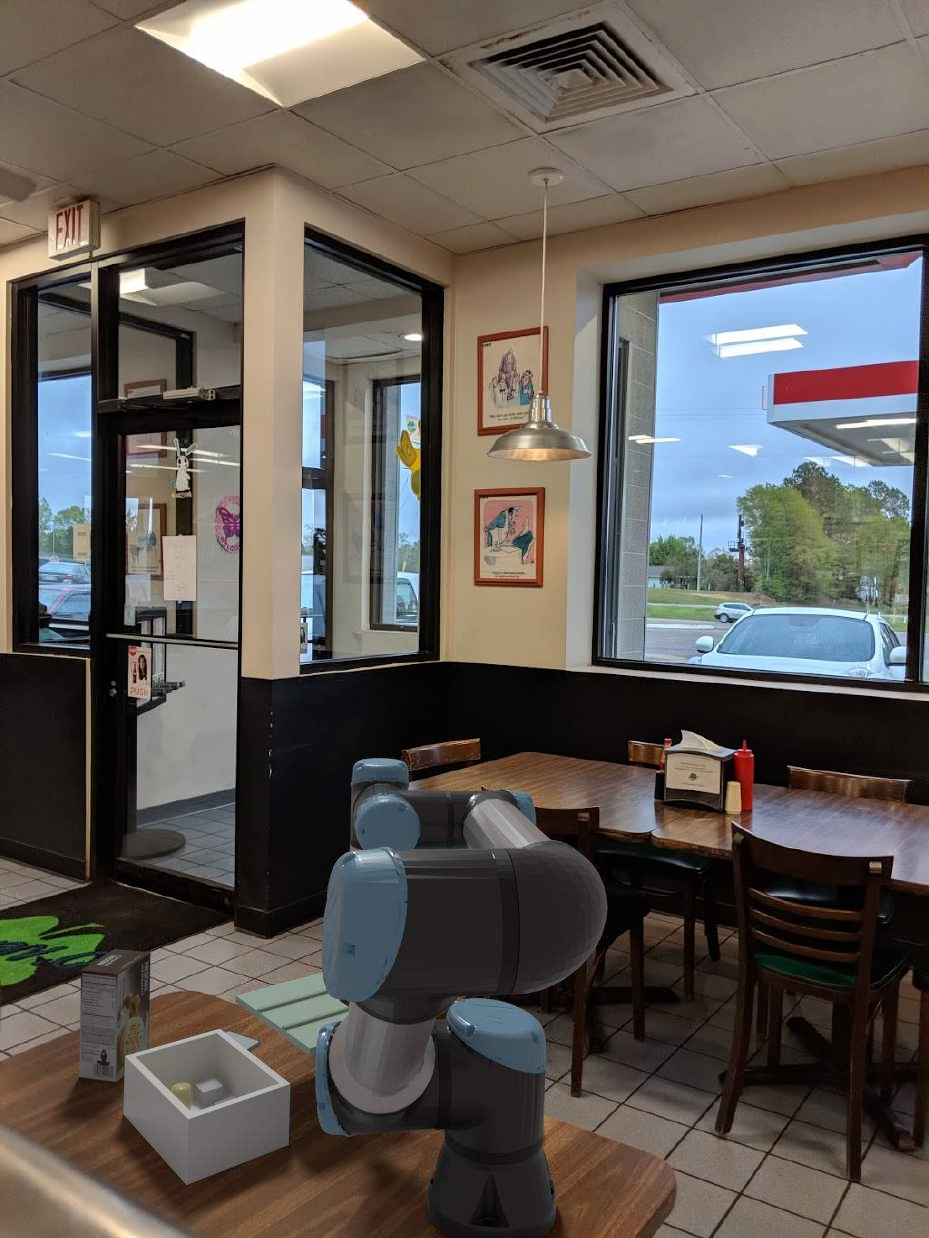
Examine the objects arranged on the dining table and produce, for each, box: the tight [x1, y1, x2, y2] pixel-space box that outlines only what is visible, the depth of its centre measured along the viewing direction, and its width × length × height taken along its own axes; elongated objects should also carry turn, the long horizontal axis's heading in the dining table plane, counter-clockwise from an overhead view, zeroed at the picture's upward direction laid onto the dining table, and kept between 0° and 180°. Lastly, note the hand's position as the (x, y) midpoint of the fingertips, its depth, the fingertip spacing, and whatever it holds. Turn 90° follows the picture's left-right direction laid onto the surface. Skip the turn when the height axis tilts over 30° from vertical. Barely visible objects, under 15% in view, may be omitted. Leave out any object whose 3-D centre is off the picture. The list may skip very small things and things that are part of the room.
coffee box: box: [78, 948, 152, 1083], centre depth 143 cm, size 9×6×16 cm
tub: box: [123, 1028, 291, 1186], centre depth 127 cm, size 20×14×8 cm
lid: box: [235, 972, 349, 1057], centre depth 136 cm, size 27×15×10 cm, turn 41°
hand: (372, 1050), depth 128 cm, fingers closed on lid, 2 cm apart
